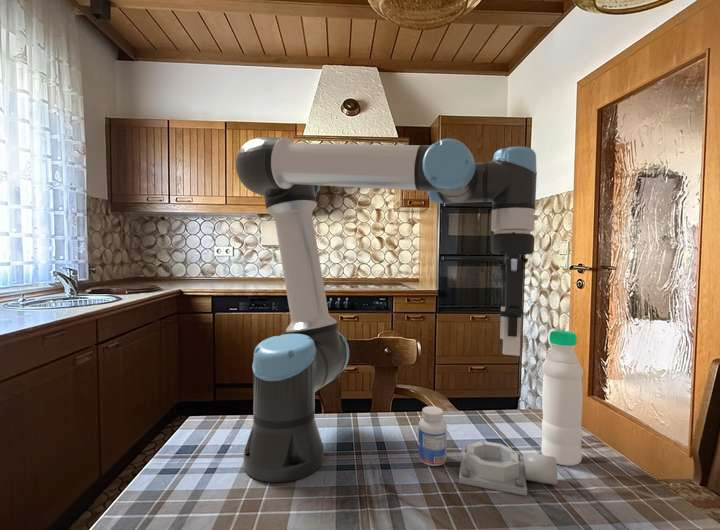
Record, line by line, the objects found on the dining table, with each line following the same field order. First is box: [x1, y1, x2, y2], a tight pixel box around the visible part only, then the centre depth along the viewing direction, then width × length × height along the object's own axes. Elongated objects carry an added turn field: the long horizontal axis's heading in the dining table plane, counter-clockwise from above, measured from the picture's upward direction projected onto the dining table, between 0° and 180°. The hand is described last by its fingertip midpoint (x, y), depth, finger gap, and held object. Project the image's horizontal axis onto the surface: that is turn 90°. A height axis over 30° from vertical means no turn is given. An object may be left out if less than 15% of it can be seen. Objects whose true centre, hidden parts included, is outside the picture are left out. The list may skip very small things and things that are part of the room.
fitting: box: [458, 440, 558, 497], centre depth 70 cm, size 16×11×4 cm
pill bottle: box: [418, 406, 448, 467], centre depth 75 cm, size 6×5×10 cm
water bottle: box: [540, 330, 584, 467], centre depth 76 cm, size 7×7×25 cm
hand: (508, 346), depth 72 cm, fingers open, 13 cm apart
